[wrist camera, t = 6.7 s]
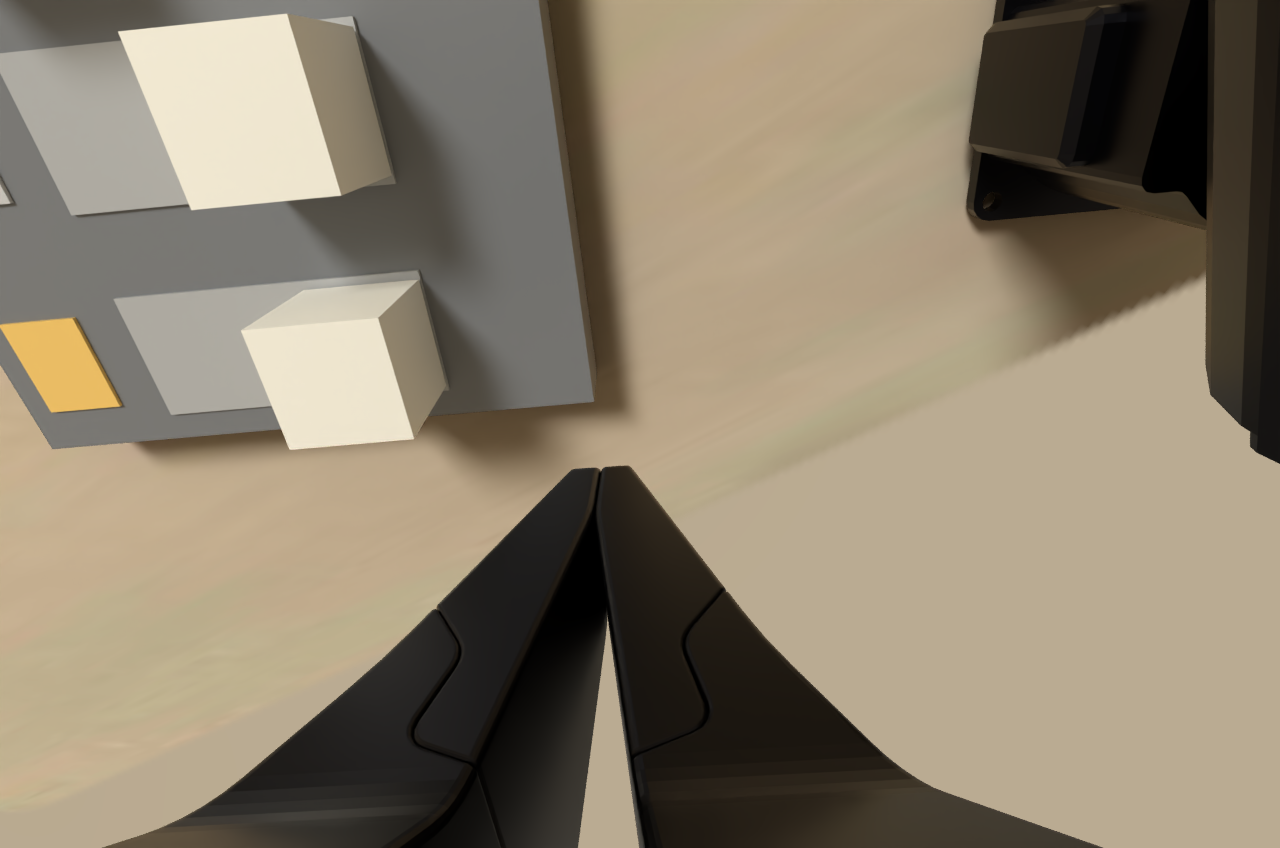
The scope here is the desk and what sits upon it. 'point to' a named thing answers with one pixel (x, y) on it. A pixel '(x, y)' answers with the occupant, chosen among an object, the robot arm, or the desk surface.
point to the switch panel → (280, 220)
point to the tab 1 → (260, 108)
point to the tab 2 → (348, 364)
